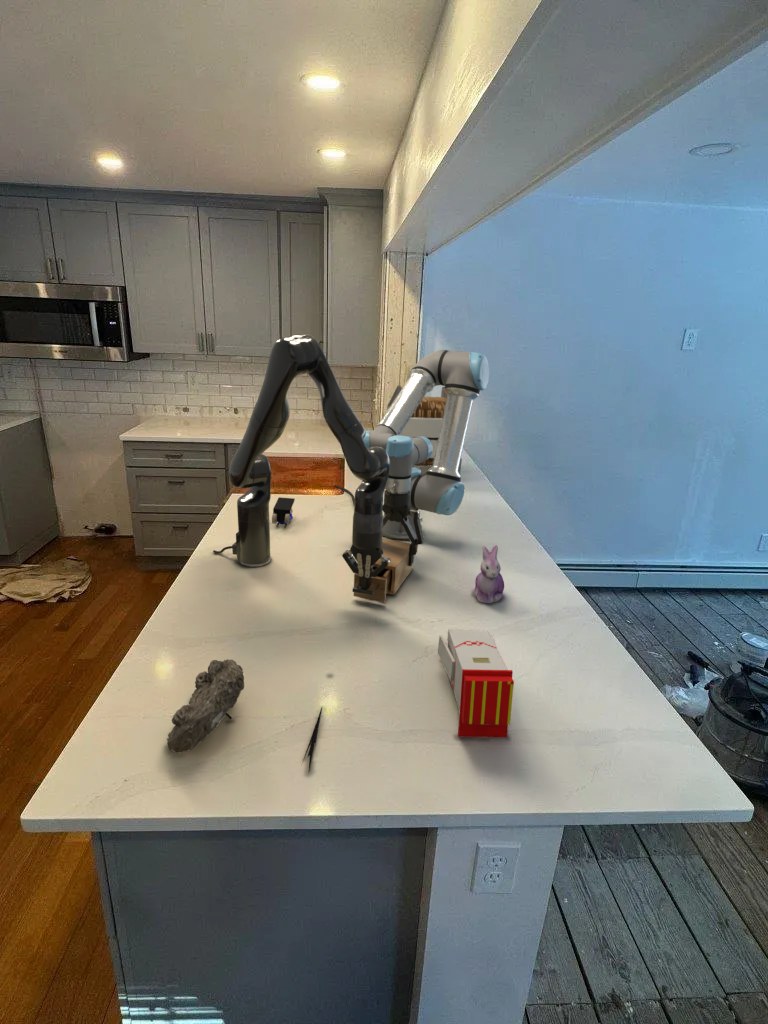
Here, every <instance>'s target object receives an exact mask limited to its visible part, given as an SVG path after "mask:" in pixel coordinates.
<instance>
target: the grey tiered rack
mask: <svg viewBox="0 0 768 1024" xmlns="http://www.w3.org/2000/svg"><path fill="white" fill-rule="evenodd" d="M402 388H403V387H402V385H399V384H398V385H397V386H396V388H395V390H394V392H393V394H392V395H391V398H390V400H389V402H388V404H387V405H386V411H387V410H388V409H389V407H390V406H391V404H392V403H393V401H394V400H395V398H396V397H397V395H398V394H399V392H400V391H401V390H402ZM444 388H445V386H442V387H441V392H440V393H441V394H440V396H424V398H423V399H422V401H421V402H420V404H419V406H418V407H417V409H416V410H415V412H414V413H413V415H412V416H411V418H410V419H409V421H408V423H407V424H406V426H405V427H404V429H403V430H402V432H401V433H400V435H399V436H408V437H411V438H415V437H417V436H419V437H420V436H423V437H426V438H428V439H429V440H430V441H431V443H432V446H433V452H432V455H431V456H430V458H428V459H427V460H426V461H424V462H422V463H419V464H416V465H414V466H413V467H417V466H418V467H432V466H433V461H434V457H435V452H436V447H437V443H438V438H439V433H440V429H441V424H442V419H443V415H444V410H445V405H446V400H447V394H446V392H445V391H444ZM462 461H463V460H462V457H461V458H460V463H459V468H458V473H459V475H460V476H461V472H462Z"/></svg>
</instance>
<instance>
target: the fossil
mask: <svg viewBox="0 0 768 1024" xmlns="http://www.w3.org/2000/svg"><path fill="white" fill-rule="evenodd" d="M243 670H244V669H243V667H242V665H240V664H237V662H236V661H235V660H234V659H232V658H231V659H227V658H226V659H224V660H223V661H222V660H217V659H212V660H211V661H210V663H209V665H208V666H207V671H201V672H199V673H198V674H197V675H196V676H195V680H194V684H195V685H194V687H195V689H194V690H193V693H192V694H191V697H190V698H189V700H188V704H184V705H182V706H181V707H180V709H177V710H176V711H175V713H174V715H173V716H172V718H171V723H172V724H173V727H172V730H171V731H170V732H168V734H167V738H166V741H167V742H166V745H167V749H168V750H169V751H173V752H174V753H176V754H178V753H182V752H188V751H189V752H192V751H193V750H195V748H196V747H197V746H199V744H200V743H201V742H203V741H204V740H205V739H206V738H207V737H208V736H209V735H210V734H211V733H212V732H214V730H215V729H217V727H218V726H219V724H220V722H221V721H222V720H223V719H224V718H225V716H226V717H227V719H229V720H233V717H232V715H230V714H229V710H230V709H231V708H234V706H235V704H236V703H237V702H238V699H239V697H240V695H241V693H242V691H243V690H245V689H244V688H245V675H244V671H243Z"/></svg>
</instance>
